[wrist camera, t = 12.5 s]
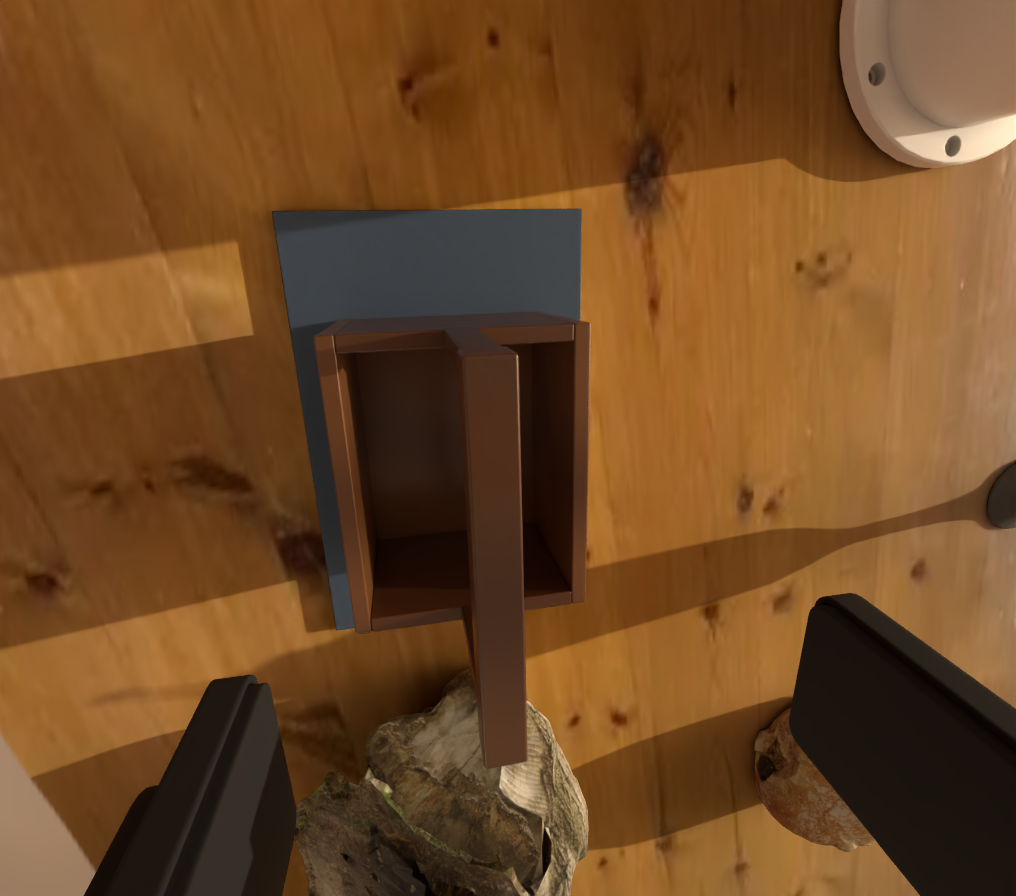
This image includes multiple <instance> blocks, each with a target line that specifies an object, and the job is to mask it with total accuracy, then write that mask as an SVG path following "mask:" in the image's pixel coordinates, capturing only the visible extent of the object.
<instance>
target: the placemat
mask: <svg viewBox="0 0 1016 896" xmlns="http://www.w3.org/2000/svg"><path fill="white" fill-rule="evenodd" d="M272 216H273V222H274V229H275V235H276V242H277V248H278V254H279V261H280V267H281V274H282V280H283V287H284V293H285V300H286V306H287V313H288V319H289V326H290V332H291V339H292V345H293V352H294V358H295V365H296V371H297V378H298V384H299V391H300V397H301V404H302V410H303V417H304V423H305V430H306V436H307V442H308V449H309V455H310V462H311V468H312V475H313V481H314V488H315V494H316V501H317V507H318V514H319V520H320V527H321V533H322V540H323V546H324V553H325V559H326V566H327V572H328V579H329V585H330V592H331V598H332V605H333V611H334V618H335V624H336V630H344V629H351V628H355V625H354V618H353V611H352V604H351V597H350V590H349V583H348V576H347V569H346V562H345V555H344V548H343V541H342V534H341V527H340V520H339V513H338V506H337V499H336V492H335V485H334V478H333V471H332V464H331V457H330V450H329V442H328V435H327V428H326V421H325V414H324V407H323V400H322V393H321V386H320V379H319V372H318V365H317V358H316V351H315V344H314V336H315V335H317V334H318V333H320V332H322V331H323V330H325V329H326V328H328V327H329V326H331V325H333V324H334V323H336V322H337V321H339V320H348V319H372V318H395V317H419V316H443V315H466V314H490V313H513V312H537V311H540V312H544V313H549V314H553V315H557V316H562V317H566V318H571V319H575V320H580V294H581V222H582V209H487V210H352V211H272Z"/></svg>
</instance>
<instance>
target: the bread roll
mask: <svg viewBox="0 0 1016 896" xmlns="http://www.w3.org/2000/svg"><path fill="white" fill-rule="evenodd" d="M790 711H791V707H790V708H789V709H787V710H785V711H783V712H782V713H781V714H780V715H779V716H778V717H777V718H776V719H775V720H774V721H773V722H772V724H771V725H770V727H769V728H767V729H766V730H761V731H760V732H759V734H758V737H757V739H756V740H755V748H754V751H756V757H755V773H756V777H755V785H756V787H757V792H758V795H759V797H760V799H761V800H762V802H763V804H764V805H765V807H766V808H767V810H768V811H769V812H770V813H771V815H772V816H773V817H774V818H775V819H776V820H777V821H778V822H779V823H780V824H781V825H782V826H784V827H785V828H787V829H788V830H790V831H791V832H793V833H794V834H796V835H799V836H801V837H803V838H805V839H807V840H809V841H811V842H813V843H817V844H821V845H832V846H835V847H837V848H838V849H839V850H842V851H846V852H849V851H852V850H854V849H855V848H857V847H858V846H869V845H872V844H875V843H876V840H875V839H874V838H873V837H872V836H871V834H870V833H869V832H868V831H867V829H866V828H865V827H864V826H863V824H862V823H861V822H860V821H859V820H858V818H857V817H856V816H855V815H854V813H853V812H852V811H851V810H850V808H849V807H848V806H847V805H846V804H845V802H844V801H843V800H842V799H841V797H840V796H839V795H838V794H837V792H836V791H835V790H834V789H833V788H832V786H831V785H830V784H829V783H828V781H827V780H826V779H825V778H824V776H823V775H822V774H821V773H820V771H819V770H818V769H817V768H816V767H815V765H814V764H813V763H812V762H811V760H810V759H809V758H808V757H807V755H806V754H805V753H804V752H803V751H802V749H801V748H800V747H799V746H798V744H797V743H796V741H795V740H794V738H793V736H792V734H791V731H790V727H789V716H790Z"/></svg>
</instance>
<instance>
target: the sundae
mask: <svg viewBox="0 0 1016 896" xmlns="http://www.w3.org/2000/svg"><path fill="white" fill-rule="evenodd" d="M987 506H988V514H989V517H990V519H991V521H992V522H993V523H994V524H995V525H996V526H998V527H1001V528H1005V529H1009V528H1015V527H1016V463H1015V464H1014V465H1012V466H1010V467H1009V468H1008V469H1007V470H1006V471H1005V472H1004V473H1003V474H1002V475H1001V476H1000V477H999V478H998V480H997V481H996V483H995V484H994V486H993V488H992V490H991V492H990V495H989V499H988V504H987Z"/></svg>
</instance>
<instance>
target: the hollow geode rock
mask: <svg viewBox="0 0 1016 896" xmlns="http://www.w3.org/2000/svg"><path fill="white" fill-rule="evenodd" d="M526 704H527V748H528V759H527V761H526V762H523V763H518V764H513V765H507V766H502V767H497V768H492V769H486V768H485V766H484V761H483V755H482V749H481V743H480V737H479V725H478V708H477V700H476V695H475V689H474V683H473V677H472V672H471V669H466V670H464V671H462V672H461V673H459V674H458V675H456V676H455V677H454V678H453V679H452V680H451V681H450V682H449V683H448V684H447V685H446V686H445V687H444V689H443V696H442V698H441V701H440V702H439V703H438V704H437V706H434V707H426V709H425V710H424V711H423V712H422V713H414V714H411V715H402V716H397V717H392V718H391V719H390V720H388V721H386V722H381V723H380V724H379V725H377V726H376V727H375V728H374V729H373V731H372V732H371V733H370V735H369V736H368V738H367V739H366V748H365V759H366V761H367V762H368V768H367V771H366V772H365V774H364V775H363V774H362V775H363V777H362V778H361V779H360V782H359V784H358V785H355V784H353V783H350V782H348V781H347V779H346V778H345V777H344V776H343V775H342V774H341V773H340V771H336V772H329V774H328V775H327V777H326V778H325V780H324V781H323V782H322V783H321V784H320V786H319V787H318V789H317V790H316V791H314V792H313V793H312V794H311V795H310V796H309V797H307V798H305V799H304V800H302V801H301V802H300V803H299V804H298V807H297V811H296V822H297V823H296V830H295V840H296V844H297V847H298V851H299V853H301V854H302V855H303V859H304V864H305V873H306V875H307V877H308V879H309V886H308V892H309V896H570V892H571V882H572V878H573V873H574V870H575V867H576V865H577V863H578V862H579V861H580V860H581V859H582V858H583V857H585V856H586V855H587V845H588V830H589V827H588V808H587V805H586V802H585V800H584V797H583V794H582V791H581V789H580V786H579V783H578V780H577V779H576V778H575V776H574V775H573V774H572V771H571V768H570V766H569V764H568V762H567V760H566V758H565V756H564V754H563V752H562V749H561V748H560V747H559V745H558V744H557V742H556V739H555V736H554V733H553V731H552V728H551V725H550V723H549V720H548V719H547V718H546V717H545V716H544V715H542V714H541V713H540V712H538V711H537V709H536V708H535V707H534V706H533V705H532V704H531V703H529V701H528V700H527V698H526Z"/></svg>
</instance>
